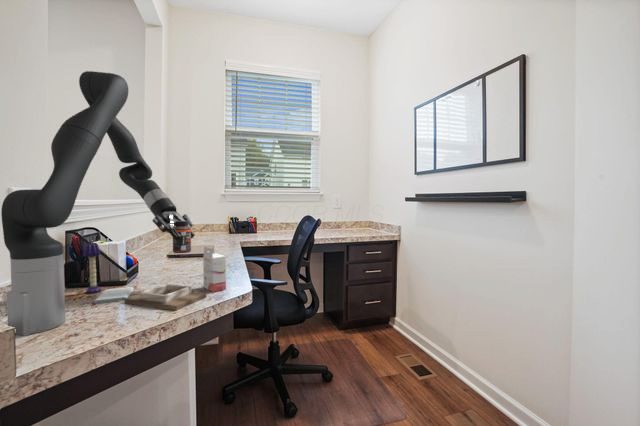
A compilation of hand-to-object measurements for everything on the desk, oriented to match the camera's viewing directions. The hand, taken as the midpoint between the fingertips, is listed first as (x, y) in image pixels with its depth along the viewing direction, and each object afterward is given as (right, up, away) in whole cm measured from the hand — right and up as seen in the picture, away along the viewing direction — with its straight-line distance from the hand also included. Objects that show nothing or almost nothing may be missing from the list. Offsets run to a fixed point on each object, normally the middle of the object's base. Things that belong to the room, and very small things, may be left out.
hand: (185, 237), depth 103 cm
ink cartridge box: (+11, -18, -1) cm, 21 cm away
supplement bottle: (-2, -6, +1) cm, 6 cm away
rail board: (0, -18, -13) cm, 22 cm away
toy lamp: (-29, -18, -5) cm, 35 cm away
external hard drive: (-19, -19, -9) cm, 28 cm away
